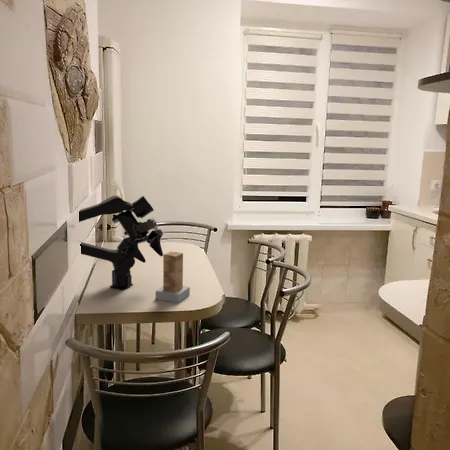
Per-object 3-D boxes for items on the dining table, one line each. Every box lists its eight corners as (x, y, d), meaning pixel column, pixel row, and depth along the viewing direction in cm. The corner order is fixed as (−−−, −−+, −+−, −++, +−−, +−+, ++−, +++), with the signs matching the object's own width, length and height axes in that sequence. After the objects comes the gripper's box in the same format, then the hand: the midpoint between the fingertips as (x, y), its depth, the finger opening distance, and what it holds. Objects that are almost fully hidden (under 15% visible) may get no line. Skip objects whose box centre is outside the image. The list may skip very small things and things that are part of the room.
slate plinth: (155, 299, 159) (155, 290, 158) (167, 291, 167) (167, 283, 166) (178, 303, 155) (178, 294, 155) (189, 294, 164) (189, 286, 163)
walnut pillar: (163, 289, 159) (163, 254, 157) (170, 285, 164) (170, 251, 161) (175, 292, 157) (175, 256, 155) (182, 287, 162) (183, 253, 159)
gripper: (122, 216, 154) (147, 252, 150) (159, 208, 169) (182, 240, 166) (107, 235, 160) (131, 270, 156) (144, 225, 175) (166, 257, 172)
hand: (153, 258), depth 162 cm, fingers open, 9 cm apart
